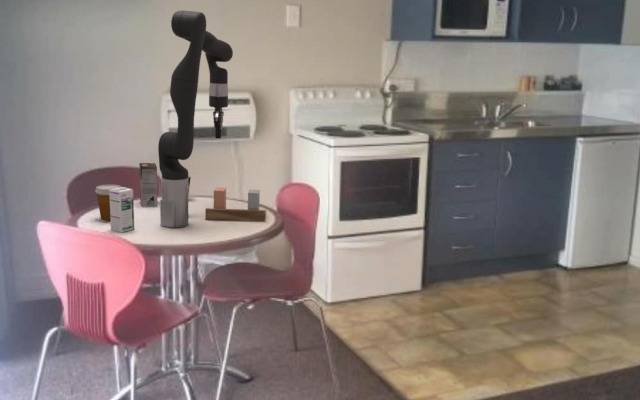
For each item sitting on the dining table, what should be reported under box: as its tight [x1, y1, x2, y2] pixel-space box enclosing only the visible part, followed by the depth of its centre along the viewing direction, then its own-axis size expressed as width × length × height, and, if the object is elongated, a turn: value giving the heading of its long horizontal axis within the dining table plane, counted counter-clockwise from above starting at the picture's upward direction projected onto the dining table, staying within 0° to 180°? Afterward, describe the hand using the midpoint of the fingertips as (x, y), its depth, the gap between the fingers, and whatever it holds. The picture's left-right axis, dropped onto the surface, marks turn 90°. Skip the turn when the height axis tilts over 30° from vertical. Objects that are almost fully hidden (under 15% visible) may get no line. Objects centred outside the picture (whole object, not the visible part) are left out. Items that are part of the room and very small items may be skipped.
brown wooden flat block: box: [204, 207, 267, 223], centre depth 256 cm, size 12×22×4 cm, turn 92°
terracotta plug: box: [213, 186, 227, 209], centre depth 256 cm, size 6×4×10 cm, turn 2°
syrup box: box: [109, 186, 135, 234], centre depth 231 cm, size 6×6×14 cm
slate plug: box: [247, 189, 261, 210], centre depth 255 cm, size 6×4×10 cm, turn 2°
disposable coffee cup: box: [94, 184, 122, 222], centre depth 245 cm, size 10×10×12 cm
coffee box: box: [139, 162, 158, 208], centre depth 269 cm, size 9×6×16 cm
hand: (218, 138), depth 271 cm, fingers closed
